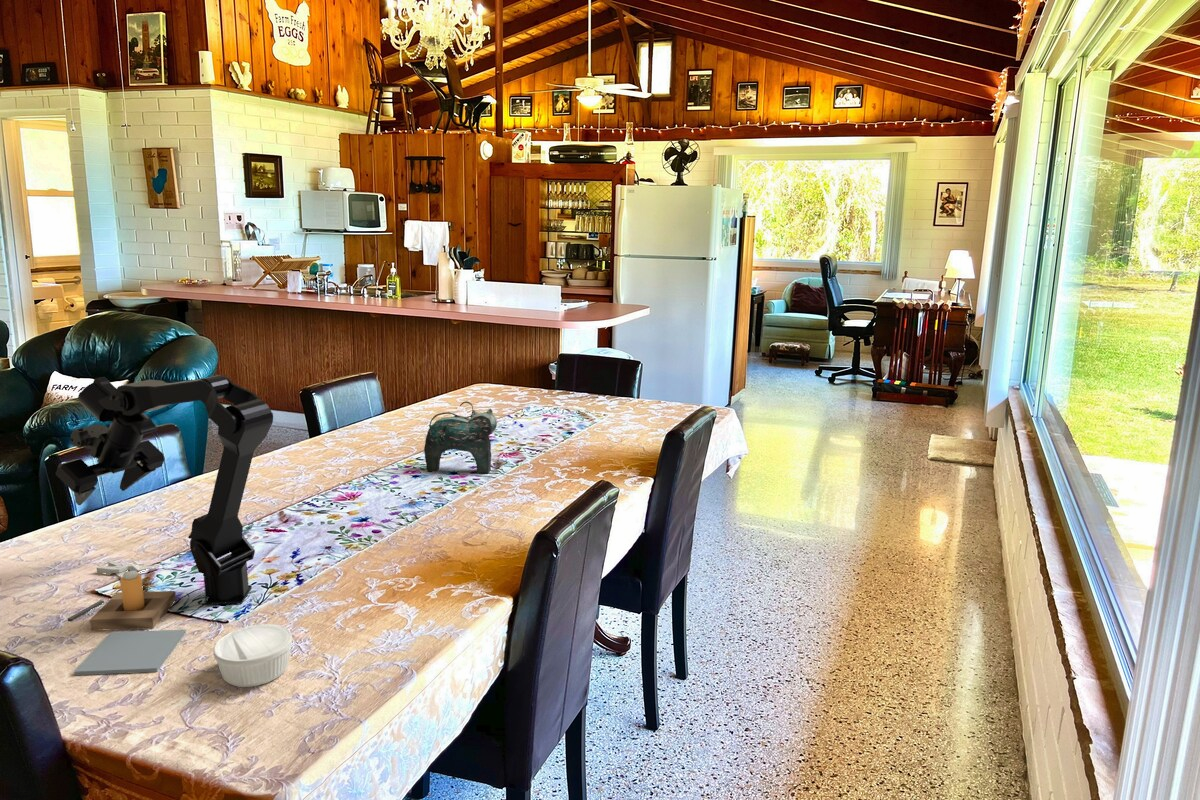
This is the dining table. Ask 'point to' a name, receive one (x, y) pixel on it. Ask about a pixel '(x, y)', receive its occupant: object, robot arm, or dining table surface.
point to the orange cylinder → (132, 591)
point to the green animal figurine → (461, 438)
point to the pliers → (121, 568)
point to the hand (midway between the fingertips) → (100, 496)
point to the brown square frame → (133, 612)
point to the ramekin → (253, 654)
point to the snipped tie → (85, 610)
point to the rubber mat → (131, 652)
